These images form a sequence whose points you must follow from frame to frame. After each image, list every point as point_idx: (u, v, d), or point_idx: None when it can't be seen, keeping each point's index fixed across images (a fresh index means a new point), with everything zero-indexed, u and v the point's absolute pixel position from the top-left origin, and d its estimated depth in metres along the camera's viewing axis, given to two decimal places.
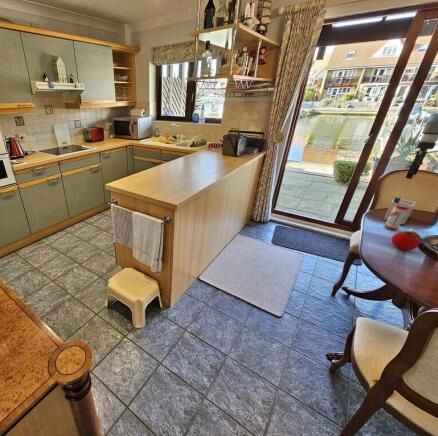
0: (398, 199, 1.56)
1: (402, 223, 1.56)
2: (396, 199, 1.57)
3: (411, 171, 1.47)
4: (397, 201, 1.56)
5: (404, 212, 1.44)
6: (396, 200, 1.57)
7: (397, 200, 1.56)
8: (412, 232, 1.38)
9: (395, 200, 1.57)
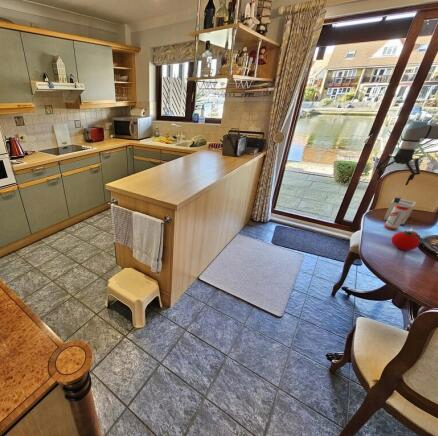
0: (398, 199, 1.56)
1: (402, 223, 1.56)
2: (396, 199, 1.57)
3: None
4: (397, 201, 1.56)
5: (404, 212, 1.44)
6: (396, 200, 1.57)
7: (397, 200, 1.56)
8: (412, 232, 1.38)
9: (395, 200, 1.57)
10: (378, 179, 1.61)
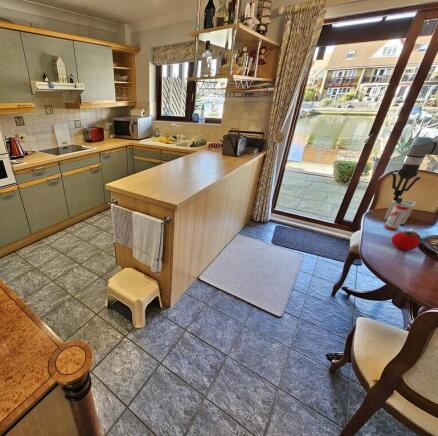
0: (400, 199, 1.55)
1: (402, 223, 1.56)
2: (398, 199, 1.56)
3: None
4: (399, 201, 1.56)
5: (404, 212, 1.44)
6: (398, 200, 1.56)
7: (399, 200, 1.56)
8: (412, 232, 1.38)
9: (397, 200, 1.56)
10: (394, 199, 1.57)
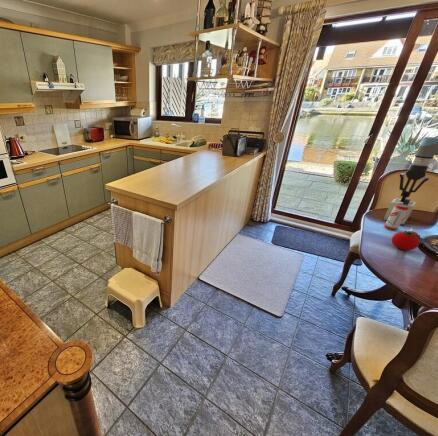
0: (407, 201, 1.53)
1: (402, 223, 1.56)
2: (405, 201, 1.53)
3: (409, 195, 1.52)
4: (406, 203, 1.53)
5: (404, 212, 1.44)
6: (405, 202, 1.54)
7: (406, 202, 1.53)
8: (412, 232, 1.38)
9: (404, 202, 1.54)
10: (401, 201, 1.55)
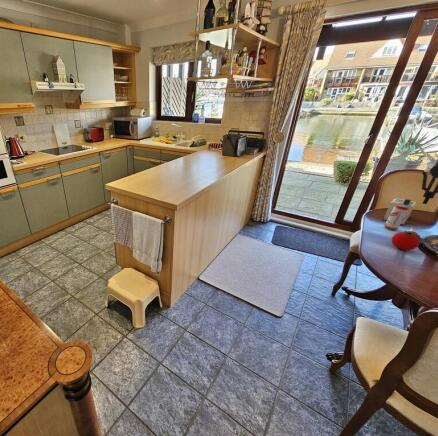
0: (408, 201, 1.52)
1: (402, 223, 1.56)
2: (406, 201, 1.53)
3: None
4: (407, 203, 1.53)
5: (404, 212, 1.44)
6: (406, 202, 1.53)
7: (407, 202, 1.53)
8: (412, 232, 1.38)
9: (405, 202, 1.54)
10: (424, 203, 1.32)
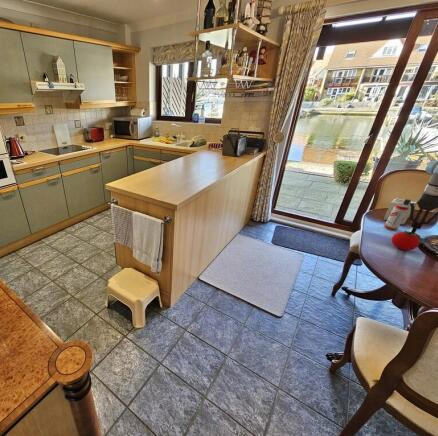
0: (408, 201, 1.52)
1: (402, 223, 1.56)
2: (406, 201, 1.53)
3: (421, 226, 1.35)
4: (407, 203, 1.53)
5: (404, 212, 1.44)
6: (406, 202, 1.53)
7: (407, 202, 1.53)
8: None
9: (405, 202, 1.54)
10: (411, 232, 1.37)
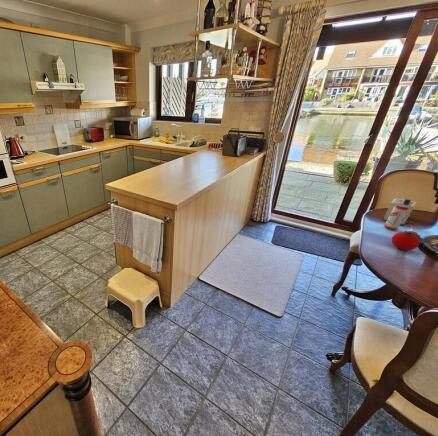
0: (408, 201, 1.52)
1: (402, 223, 1.56)
2: (406, 201, 1.53)
3: None
4: (407, 203, 1.53)
5: (404, 212, 1.44)
6: (406, 202, 1.53)
7: (407, 202, 1.53)
8: (412, 232, 1.38)
9: (405, 202, 1.54)
10: (435, 202, 1.36)
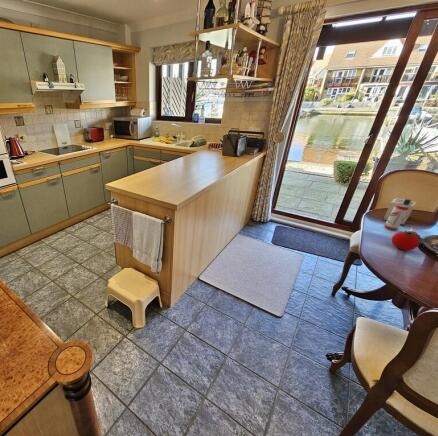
0: (408, 201, 1.52)
1: (402, 223, 1.56)
2: (406, 201, 1.53)
3: None
4: (407, 203, 1.53)
5: (404, 212, 1.44)
6: (406, 202, 1.53)
7: (407, 202, 1.53)
8: (412, 232, 1.38)
9: (405, 202, 1.54)
10: None
